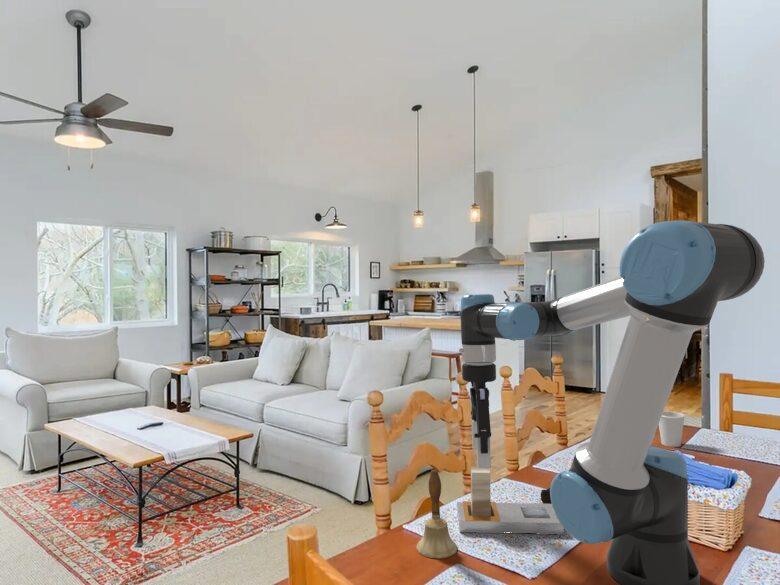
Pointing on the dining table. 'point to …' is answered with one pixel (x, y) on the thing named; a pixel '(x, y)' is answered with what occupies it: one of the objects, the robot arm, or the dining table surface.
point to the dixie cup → (671, 428)
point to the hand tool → (546, 496)
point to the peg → (480, 492)
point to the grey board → (510, 519)
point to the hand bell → (436, 527)
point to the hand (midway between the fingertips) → (481, 457)
